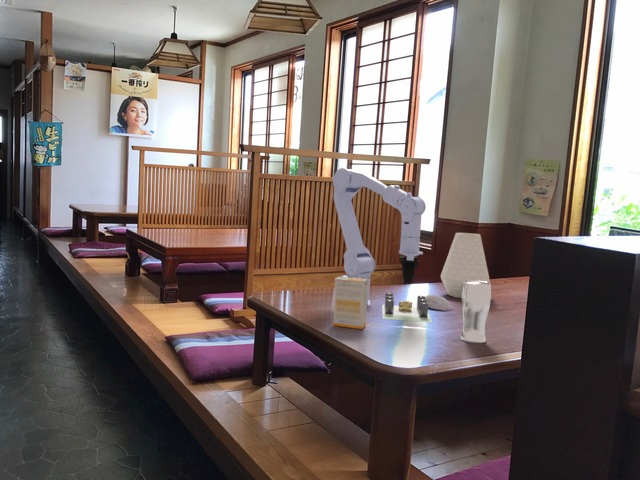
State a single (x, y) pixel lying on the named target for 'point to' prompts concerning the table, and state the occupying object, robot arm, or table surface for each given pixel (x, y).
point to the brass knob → (405, 306)
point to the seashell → (438, 303)
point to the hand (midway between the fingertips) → (407, 281)
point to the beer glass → (475, 310)
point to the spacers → (421, 305)
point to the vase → (464, 263)
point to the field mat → (405, 315)
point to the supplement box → (350, 302)
